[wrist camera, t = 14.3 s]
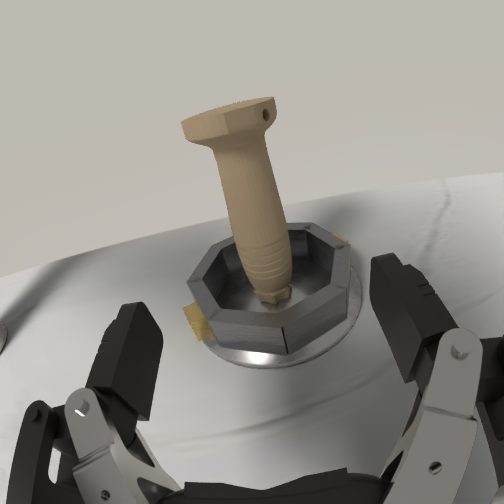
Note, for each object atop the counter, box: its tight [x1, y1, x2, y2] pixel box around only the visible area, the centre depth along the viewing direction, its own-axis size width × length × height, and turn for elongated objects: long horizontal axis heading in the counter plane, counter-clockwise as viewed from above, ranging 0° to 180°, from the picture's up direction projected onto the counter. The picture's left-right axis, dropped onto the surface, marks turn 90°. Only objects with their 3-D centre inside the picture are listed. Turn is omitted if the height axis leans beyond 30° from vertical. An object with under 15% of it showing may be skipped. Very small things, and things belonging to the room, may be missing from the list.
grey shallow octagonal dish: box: [183, 223, 362, 369], centre depth 23 cm, size 15×14×4 cm
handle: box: [181, 97, 292, 305], centre depth 20 cm, size 5×6×15 cm
